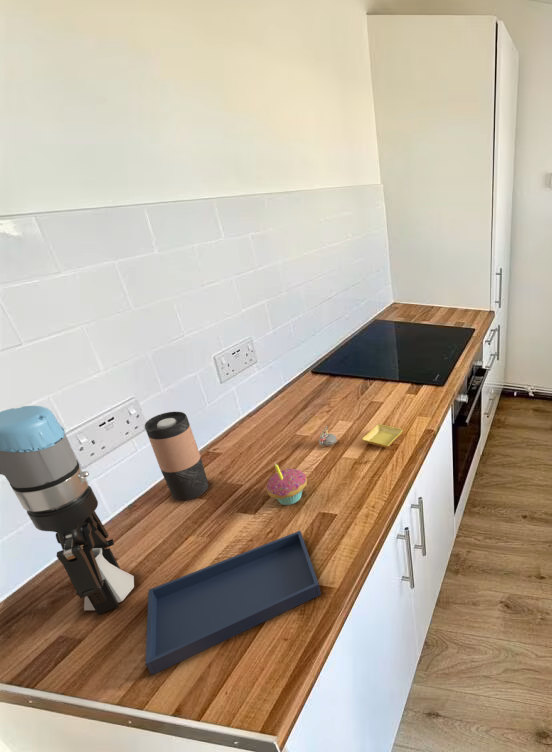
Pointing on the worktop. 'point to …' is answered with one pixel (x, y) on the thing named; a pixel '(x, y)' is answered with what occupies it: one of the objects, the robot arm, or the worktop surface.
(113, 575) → the flask
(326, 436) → the figurine
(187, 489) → the travel mug
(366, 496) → the worktop surface
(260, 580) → the tray
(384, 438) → the saucer
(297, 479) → the cupcake
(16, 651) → the worktop surface
